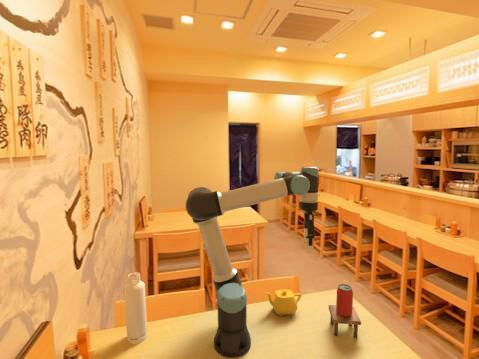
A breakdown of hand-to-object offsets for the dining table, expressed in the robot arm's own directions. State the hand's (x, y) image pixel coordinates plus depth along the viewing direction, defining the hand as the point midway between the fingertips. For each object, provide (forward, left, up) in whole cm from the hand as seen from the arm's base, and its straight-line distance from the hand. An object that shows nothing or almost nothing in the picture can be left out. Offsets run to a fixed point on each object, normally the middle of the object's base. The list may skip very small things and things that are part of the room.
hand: (308, 246), depth 127 cm
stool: (+15, -7, -35) cm, 38 cm away
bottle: (-73, -23, -35) cm, 84 cm away
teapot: (-11, +4, -35) cm, 37 cm away
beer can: (+15, -7, -27) cm, 32 cm away
